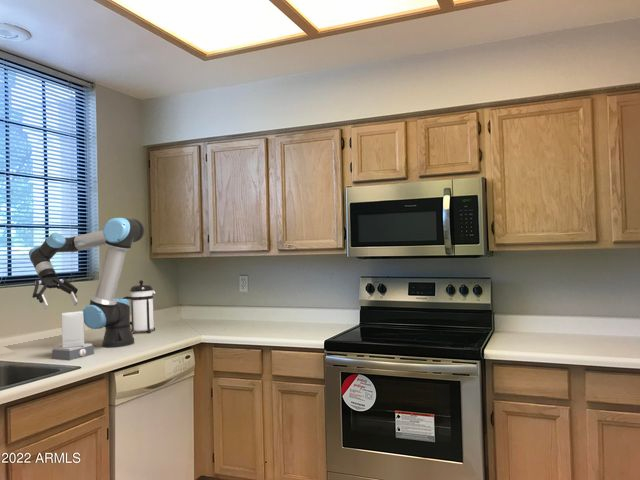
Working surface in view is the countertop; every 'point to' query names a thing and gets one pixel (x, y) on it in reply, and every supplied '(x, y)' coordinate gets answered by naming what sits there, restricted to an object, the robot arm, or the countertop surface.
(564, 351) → the countertop surface
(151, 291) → the coffee press
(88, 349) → the kitchen scale
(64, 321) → the supplement box
